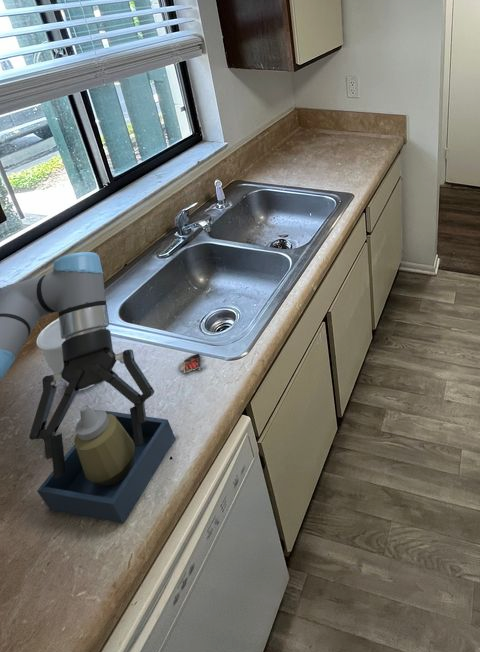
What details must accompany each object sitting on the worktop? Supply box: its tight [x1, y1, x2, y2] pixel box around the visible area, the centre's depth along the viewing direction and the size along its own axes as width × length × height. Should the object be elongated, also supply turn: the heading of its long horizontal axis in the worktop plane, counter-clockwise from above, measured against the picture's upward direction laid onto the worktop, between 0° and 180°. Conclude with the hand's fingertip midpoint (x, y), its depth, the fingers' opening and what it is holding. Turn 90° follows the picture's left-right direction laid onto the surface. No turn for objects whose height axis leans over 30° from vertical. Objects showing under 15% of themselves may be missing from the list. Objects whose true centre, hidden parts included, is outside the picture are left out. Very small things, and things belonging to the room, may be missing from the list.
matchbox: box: [179, 353, 202, 374], centre depth 103 cm, size 5×5×1 cm
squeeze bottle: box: [73, 404, 135, 486], centre depth 79 cm, size 8×8×18 cm
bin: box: [36, 410, 176, 525], centre depth 81 cm, size 15×15×6 cm
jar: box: [36, 317, 96, 392], centre depth 98 cm, size 11×10×15 cm
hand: (100, 460), depth 77 cm, fingers open, 11 cm apart
